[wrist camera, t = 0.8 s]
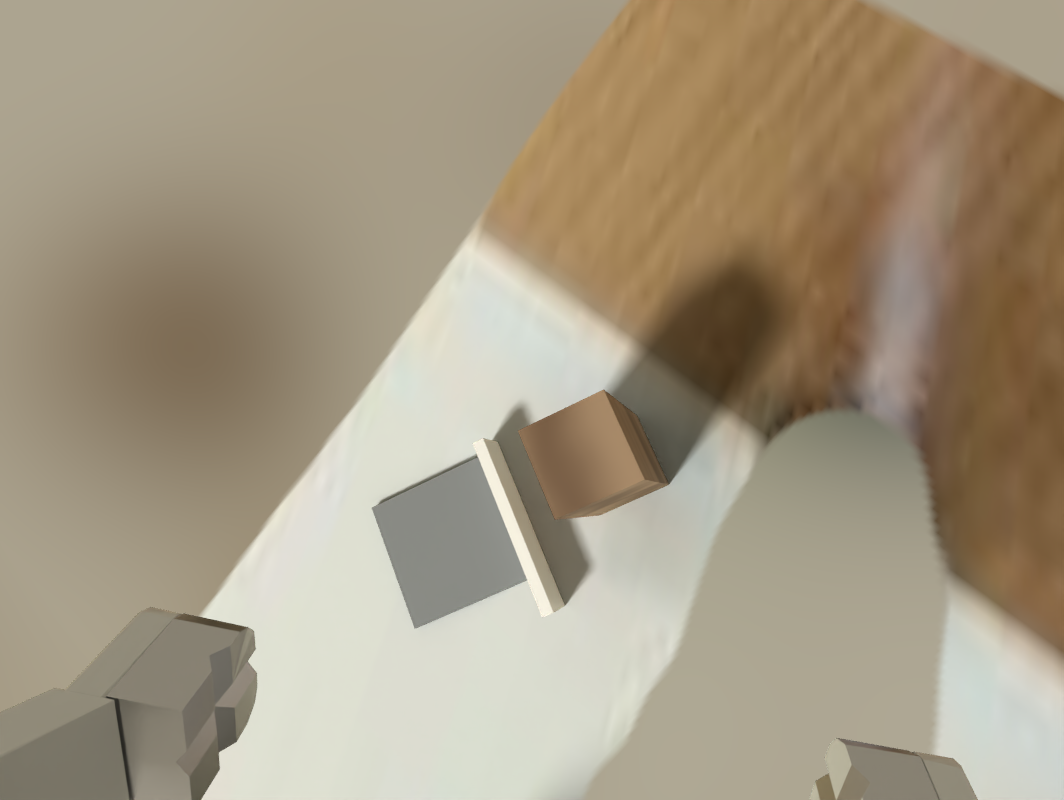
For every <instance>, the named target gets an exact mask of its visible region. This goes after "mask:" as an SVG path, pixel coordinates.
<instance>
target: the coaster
mask: <svg viewBox="0 0 1064 800" xmlns="http://www.w3.org/2000/svg"><path fill="white" fill-rule="evenodd" d="M372 510H373V513H374V515H375V518H376V521H377V524H378V527H379V529H380V532H381V535H382V538H383V541H384V543H385V546H386V549H387V552H388V555H389V557H390V560H391V563H392V566H393V569H394V571H395V574H396V577H397V580H398V583H399V586H400V588H401V591H402V594H403V597H404V600H405V602H406V605H407V608H408V611H409V614H410V616H411V619H412V622H413V625H414V628H418V627H420V626H422V625H425V624H427V623H429V622H432V621H434V620H436V619H439V618H441V617H443V616H445V615H448V614H450V613H452V612H455V611H457V610H459V609H462V608H464V607H466V606H469V605H471V604H473V603H476V602H478V601H480V600H483V599H485V598H487V597H489V596H492V595H494V594H496V593H499V592H501V591H503V590H506V589H508V588H510V587H513V586H515V585H517V584H520V583H522V582H524V581H526V580H527V578H526V576H525V573H524V571H523V568H522V566H521V563H520V561H519V558H518V556H517V553H516V551H515V548H514V546H513V543H512V541H511V538H510V536H509V533H508V531H507V528H506V526H505V523H504V521H503V518H502V516H501V513H500V511H499V508H498V506H497V503H496V501H495V498H494V496H493V493H492V491H491V488H490V486H489V483H488V481H487V478H486V476H485V473H484V471H483V468H482V466H481V463H480V461H479V458H478V457H477V458H475V459H473V460H471V461H469V462H466V463H464V464H462V465H460V466H458V467H456V468H454V469H452V470H450V471H448V472H445V473H443V474H441V475H439V476H437V477H435V478H433V479H431V480H429V481H427V482H425V483H422V484H420V485H418V486H416V487H414V488H412V489H410V490H408V491H406V492H404V493H402V494H399V495H397V496H395V497H393V498H391V499H389V500H387V501H385V502H383V503H381V504H379V505H376V506H374V507H372Z"/></svg>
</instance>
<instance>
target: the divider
mask: <svg viewBox="0 0 1064 800" xmlns="http://www.w3.org/2000/svg"><path fill="white" fill-rule="evenodd" d="M473 446H474V448H475V451H476V453H477V456H478V458H479V461H480V463H481V466H482V468H483V471H484V473H485V476H486V478H487V481H488V483H489V486H490V488H491V491H492V493H493V496H494V498H495V501H496V503H497V506H498V508H499V511H500V513H501V516H502V518H503V521H504V523H505V526H506V528H507V531H508V533H509V536H510V538H511V541H512V543H513V546H514V548H515V551H516V553H517V556H518V558H519V561H520V563H521V566H522V568H523V571H524V573H525V576H526V578H527V581H528V583H529V586H530V588H531V591H532V593H533V596H534V598H535V601H536V603H537V606H538V608H539V611H540V613H541V616H542V617H544V616H547V615H549V614H552V613H554V612H556V611H557V610H559V609H561V608H562V607H564V606H565V605H564V603H563V600H562V598H561V595H560V593H559V590H558V588H557V585H556V583H555V581H554V578H553V576H552V573H551V571H550V568H549V566H548V563H547V561H546V559H545V556H544V554H543V551H542V549H541V546H540V544H539V541H538V539H537V537H536V534H535V532H534V529H533V527H532V524H531V522H530V519H529V517H528V515H527V512H526V510H525V507H524V505H523V502H522V500H521V497H520V495H519V493H518V490H517V488H516V485H515V483H514V480H513V478H512V475H511V473H510V471H509V468H508V466H507V463H506V461H505V458H504V456H503V454H502V451H501V449H500V446H499V444H498V442H497V441H492V440H488V439H484V438H483V439H480V440H478V441H476V442H474V443H473Z"/></svg>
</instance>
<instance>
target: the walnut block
mask: <svg viewBox="0 0 1064 800" xmlns="http://www.w3.org/2000/svg"><path fill="white" fill-rule="evenodd" d="M518 433H519V435H520V437H521V440H522V442H523V445H524V447H525V449H526V452H527V454H528V457H529V459H530V461H531V464H532V466H533V469H534V471H535V473H536V476H537V478H538V480H539V483H540V485H541V488H542V490H543V492H544V495H545V497H546V500H547V502H548V504H549V507H550V509H551V512H552V514H553V516H554V519H555V520H558V519H567V518H577V517H587V516H597V515H601V514H604V513H606V512H608V511H611V510H613V509H615V508H617V507H620V506H622V505H624V504H626V503H629V502H631V501H633V500H635V499H638V498H640V497H642V496H644V495H647V494H649V493H651V492H653V491H656V490H658V489H660V488H663V487H665V486H667V485H669V483H668V481H667V479H666V477H665V475H664V473H663V470H662V468H661V466H660V464H659V462H658V460H657V458H656V455H655V453H654V451H653V449H652V447H651V445H650V442H649V440H648V438H647V436H646V434H645V432H644V429H643V427H642V425H641V423H640V421H639V419H638V417H637V415H636V414H634V413H633V412H632V411H630V410H629V409H628V408H627V407H625V406H624V405H623V404H621V403H620V402H619V401H618V400H616V399H615V398H614V397H612V396H611V395H610V394H609V393H607V392H606V391H605V390H602V391H600V392H598V393H596V394H594V395H591V396H589V397H587V398H585V399H583V400H581V401H579V402H577V403H575V404H573V405H571V406H569V407H566V408H564V409H562V410H560V411H558V412H556V413H554V414H552V415H550V416H548V417H546V418H544V419H541V420H539V421H537V422H535V423H533V424H531V425H529V426H527V427H525V428H523V429H521V430H519V431H518Z"/></svg>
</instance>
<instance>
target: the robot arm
mask: <svg viewBox="0 0 1064 800" xmlns="http://www.w3.org/2000/svg"><path fill="white" fill-rule="evenodd" d="M255 649H256V648H255V637H254V631H253V630H252V629H250V628H248V627H244V626H240V625H235V624H230V623H226V622H221V621H217V620H212V619H207V618H203V617H198V616H194V615H189V614H181V613H176V612H171V611H167V610H162V609H158V608H153V607H150V608H147V609H145V610H143V611H141V612H139V613H138V614H137V615H136V616H135V617H134V618H133V619H132V620H131V621H130V622H129V624H128V625H127V626H126V627H125V628H124V629H123V630H122V631H121V632H120V633H119V634H118V635H117V636H116V637H115V638H114V639H113V640H112V641H111V642H110V643H109V644H108V645H107V646H106V647H105V649H104V650H103V651H102V652H101V653H100V654H99V655H98V656H97V657H96V658H95V659H94V660H93V661H92V662H91V663H90V664H89V665H88V666H87V667H86V668H85V670H83V672H82V673H81V674H80V675H79V676H78V677H77V678H76V679H75V680H74V681H73V682H72V683H71V684H70V685H69V686H68V687H67V688H66V689H65V690H64V689H57V688H53V689H51V690H49V691H47V692H44V693H42V694H40V695H38V696H36V697H33V698H31V699H29V700H27V701H24V702H22V703H20V704H18V705H15V706H13V707H11V708H9V709H6V710H4V711H2V712H0V800H201V799H202V797H203V795H204V794H205V792H206V791H207V789H208V787H209V786H210V784H211V783H212V781H213V779H214V778H215V776H216V774H217V773H218V771H219V770H220V766H219V752H220V751H222V750H224V749H225V748H227V747H229V746H230V745H232V744H234V743H235V742H237V740H238V738H239V737H240V735H241V733H242V732H243V730H244V728H245V726H246V725H247V722H248V720H249V717H250V714H251V712H252V709H253V706H254V703H255V697H256V691H257V673H256V671H255V670H254V669H253V668H252V666H251V665H250V664H249V662H248V660H249V658H250V657H251V655H252V654H253V652H254V651H255ZM825 762H826V765H827V769H828V772H829V773H828V774H827V775H825V776H823V777H821V778H820V779H818V780H816V781H815V783H814V786H813V790H812V792H811V795H810V798H809V800H978V799H977V797H976V795H975V793H974V791H973V789H972V787H971V785H970V783H969V781H968V779H967V777H966V775H965V773H964V771H963V769H962V767H961V765H960V764H959V763H957V762H956V761H955V760H954V759H953V758H947V757H941V756H936V755H930V754H924V753H918V752H910V751H907V750H901V749H896V748H890V747H884V746H879V745H874V744H868V743H862V742H857V741H851V740H846V739H840V738H836V739H835V740H834V741H833V742H832V743H831V744H830V745H829V748H828V750H827V753H826V756H825Z"/></svg>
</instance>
